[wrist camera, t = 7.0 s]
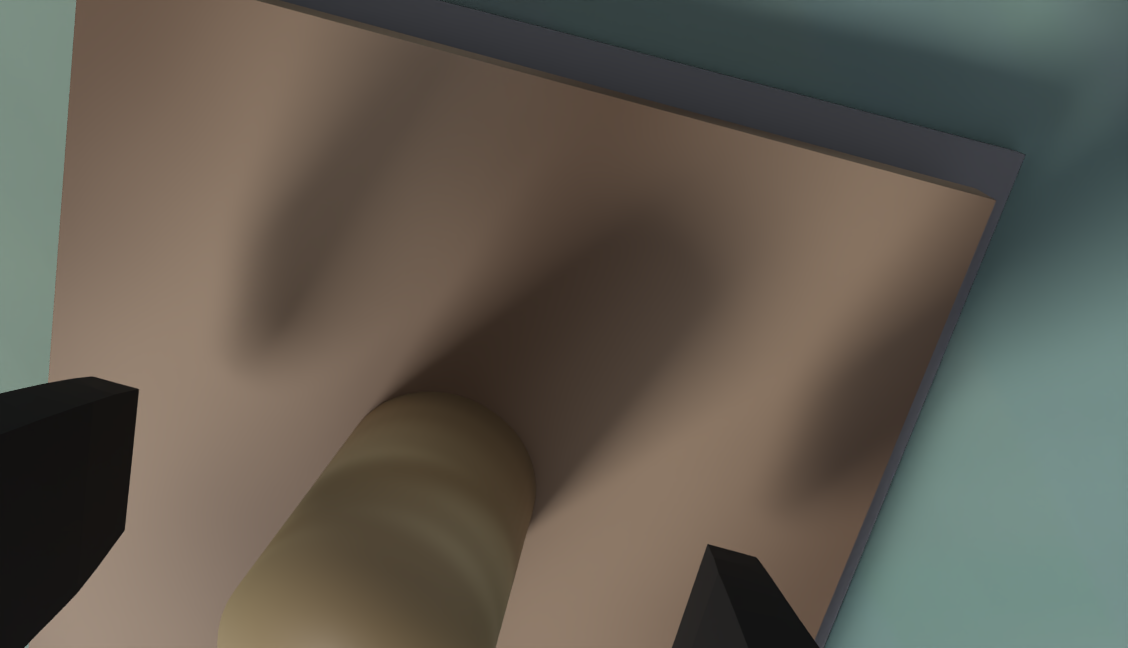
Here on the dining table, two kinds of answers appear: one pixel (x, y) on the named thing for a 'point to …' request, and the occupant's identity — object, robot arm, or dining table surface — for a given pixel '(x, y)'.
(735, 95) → the mat
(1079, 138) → the dining table surface
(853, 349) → the lid
